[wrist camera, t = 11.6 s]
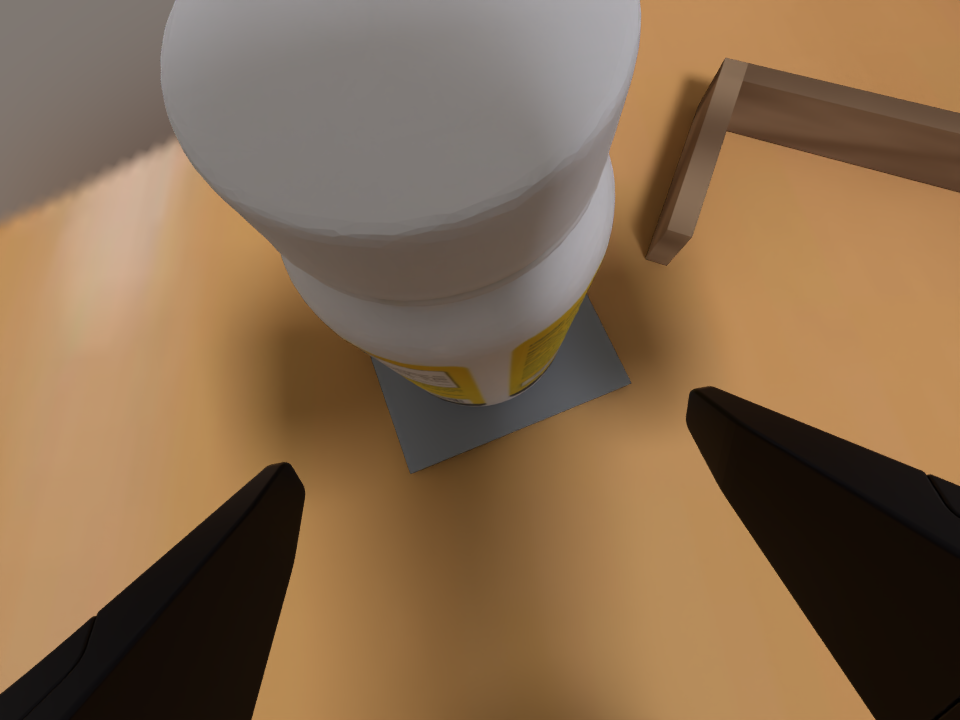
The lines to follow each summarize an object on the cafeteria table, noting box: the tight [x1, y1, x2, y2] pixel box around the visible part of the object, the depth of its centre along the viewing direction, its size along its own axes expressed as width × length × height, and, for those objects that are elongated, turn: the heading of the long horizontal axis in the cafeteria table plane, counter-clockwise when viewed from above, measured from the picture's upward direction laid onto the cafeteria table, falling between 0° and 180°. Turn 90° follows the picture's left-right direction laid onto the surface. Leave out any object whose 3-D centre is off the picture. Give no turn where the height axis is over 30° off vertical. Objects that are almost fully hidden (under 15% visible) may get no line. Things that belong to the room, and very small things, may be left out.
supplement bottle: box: [160, 0, 641, 407], centre depth 11 cm, size 7×7×13 cm
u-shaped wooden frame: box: [646, 58, 960, 266], centre depth 16 cm, size 9×18×2 cm, turn 68°
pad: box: [371, 294, 631, 474], centre depth 17 cm, size 10×10×1 cm
